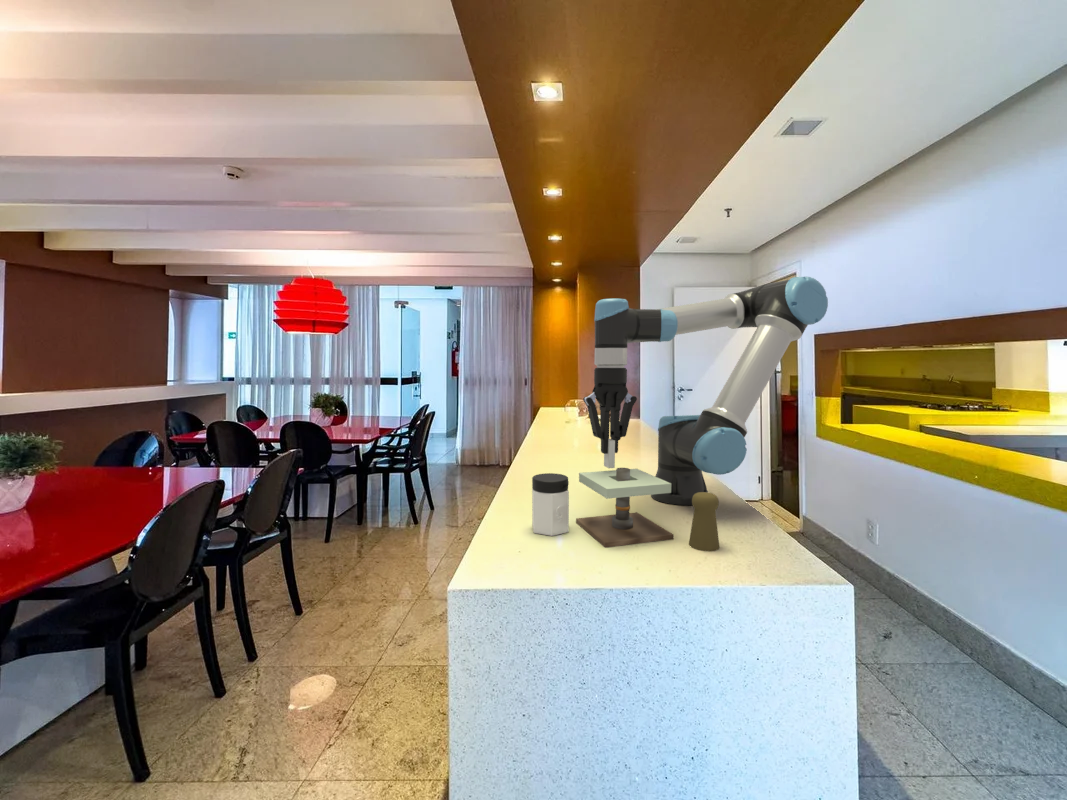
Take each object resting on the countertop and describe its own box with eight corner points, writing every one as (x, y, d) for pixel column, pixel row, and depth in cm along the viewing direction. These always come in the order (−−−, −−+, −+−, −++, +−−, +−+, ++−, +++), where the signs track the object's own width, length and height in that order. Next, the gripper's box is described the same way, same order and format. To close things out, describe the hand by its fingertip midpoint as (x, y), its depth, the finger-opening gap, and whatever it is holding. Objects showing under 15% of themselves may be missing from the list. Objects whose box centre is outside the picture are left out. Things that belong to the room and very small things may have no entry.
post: (636, 516, 121) (637, 459, 120) (673, 539, 105) (674, 474, 104) (575, 522, 116) (576, 464, 115) (605, 547, 101) (605, 480, 100)
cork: (682, 542, 103) (683, 491, 103) (704, 538, 106) (706, 488, 105) (702, 553, 98) (704, 498, 97) (726, 548, 100) (727, 495, 99)
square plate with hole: (636, 476, 119) (636, 468, 119) (671, 492, 105) (671, 483, 105) (579, 481, 115) (579, 472, 115) (606, 498, 101) (606, 489, 100)
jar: (544, 538, 106) (544, 483, 105) (523, 528, 113) (523, 476, 112) (577, 530, 111) (577, 478, 110) (555, 520, 117) (555, 471, 116)
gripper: (628, 366, 120) (626, 462, 122) (578, 366, 116) (577, 465, 118) (643, 366, 113) (641, 468, 115) (591, 367, 109) (590, 472, 111)
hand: (609, 466), depth 116 cm, fingers closed
